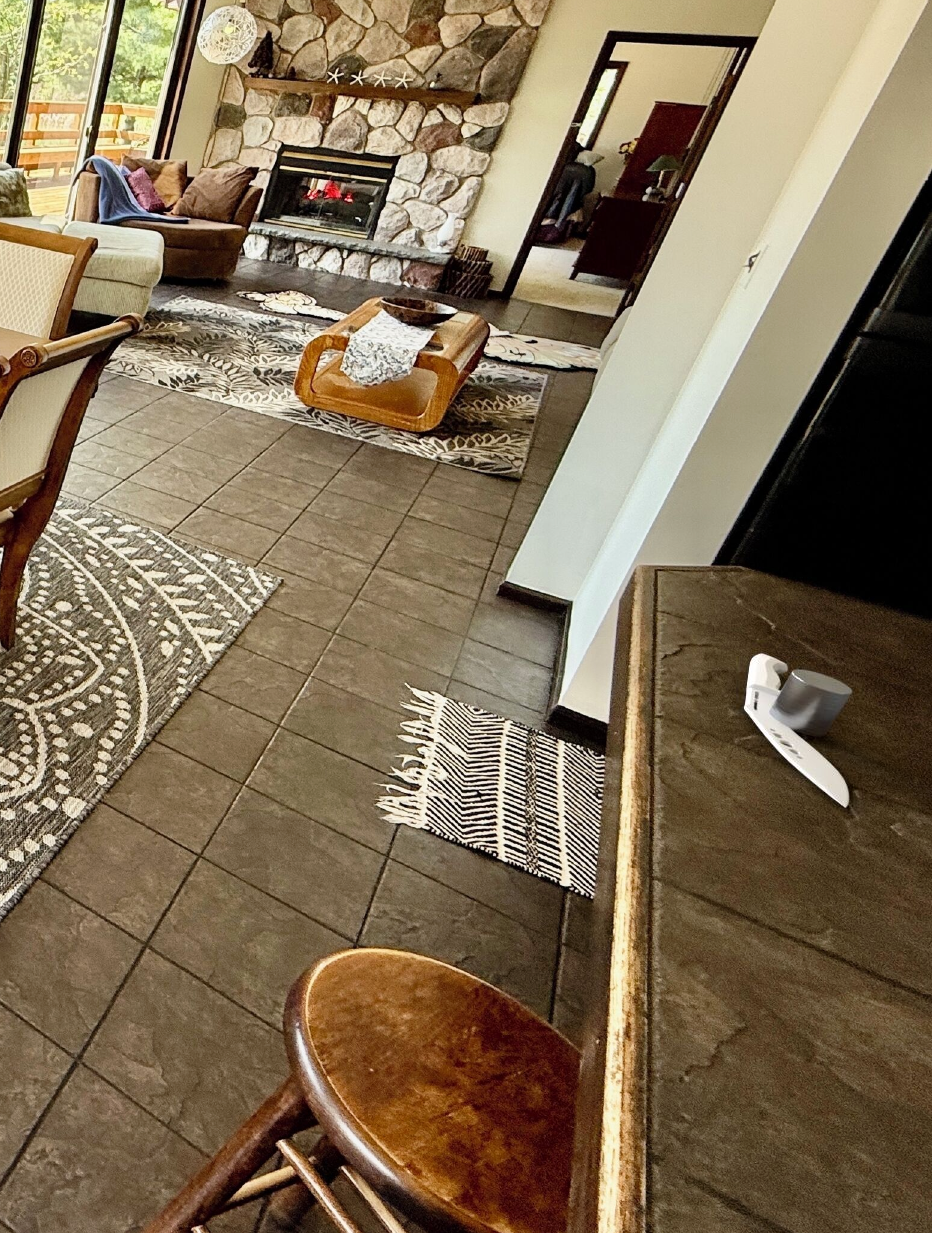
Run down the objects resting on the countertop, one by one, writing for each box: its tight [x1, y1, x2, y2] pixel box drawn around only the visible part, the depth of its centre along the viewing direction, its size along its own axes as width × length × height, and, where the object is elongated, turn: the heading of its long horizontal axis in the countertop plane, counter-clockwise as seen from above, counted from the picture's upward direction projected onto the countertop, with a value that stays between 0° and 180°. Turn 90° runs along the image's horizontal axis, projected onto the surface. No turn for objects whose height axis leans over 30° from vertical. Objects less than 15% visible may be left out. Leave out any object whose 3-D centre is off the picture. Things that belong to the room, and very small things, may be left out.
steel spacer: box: [769, 669, 853, 737], centre depth 96 cm, size 4×4×6 cm
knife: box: [743, 653, 850, 809], centre depth 97 cm, size 30×2×8 cm
